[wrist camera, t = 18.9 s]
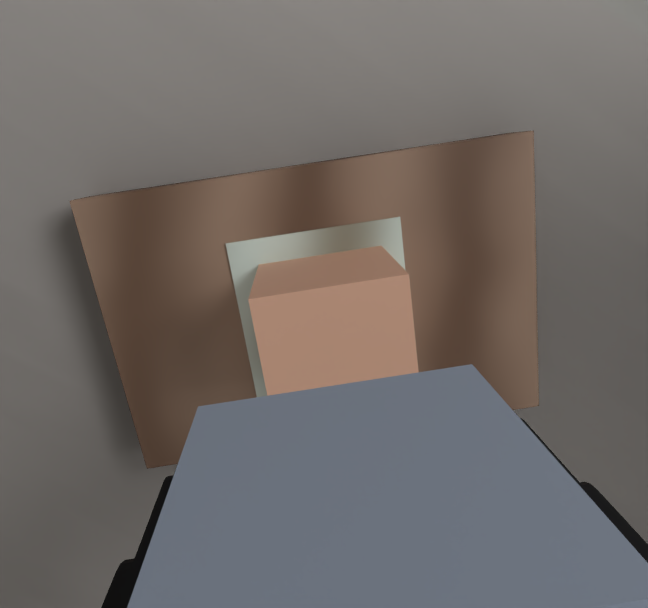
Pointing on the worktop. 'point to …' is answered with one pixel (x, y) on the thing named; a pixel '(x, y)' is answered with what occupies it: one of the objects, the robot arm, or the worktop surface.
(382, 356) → the terracotta block
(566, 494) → the slate block
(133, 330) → the board
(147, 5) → the worktop surface
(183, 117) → the worktop surface
